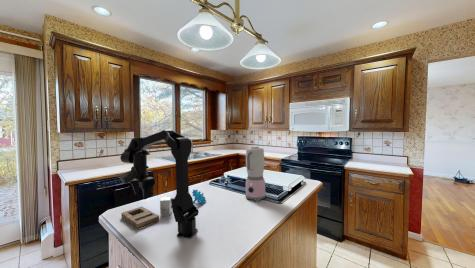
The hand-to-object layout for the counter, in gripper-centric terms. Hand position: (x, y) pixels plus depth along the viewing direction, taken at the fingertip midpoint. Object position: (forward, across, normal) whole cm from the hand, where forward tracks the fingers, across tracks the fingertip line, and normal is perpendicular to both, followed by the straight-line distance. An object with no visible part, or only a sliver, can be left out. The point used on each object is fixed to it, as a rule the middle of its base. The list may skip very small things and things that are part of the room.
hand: (140, 196), depth 91 cm
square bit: (+11, +3, +11) cm, 16 cm away
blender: (+11, +27, +56) cm, 63 cm away
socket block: (+12, -2, 0) cm, 12 cm away
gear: (+12, +4, +32) cm, 34 cm away
